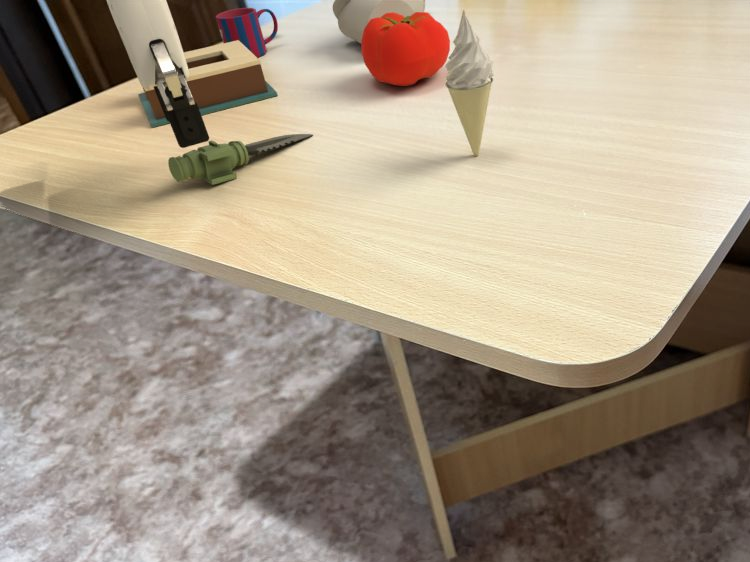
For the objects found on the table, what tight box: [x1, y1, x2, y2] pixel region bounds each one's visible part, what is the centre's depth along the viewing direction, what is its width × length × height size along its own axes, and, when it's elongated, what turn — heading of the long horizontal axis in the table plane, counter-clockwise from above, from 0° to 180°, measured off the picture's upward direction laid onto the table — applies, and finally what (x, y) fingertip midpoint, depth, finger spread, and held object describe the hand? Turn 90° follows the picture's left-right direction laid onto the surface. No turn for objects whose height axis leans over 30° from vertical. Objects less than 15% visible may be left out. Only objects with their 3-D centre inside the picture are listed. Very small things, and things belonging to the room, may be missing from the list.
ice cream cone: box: [444, 9, 495, 157], centre depth 72 cm, size 5×5×15 cm
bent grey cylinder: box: [332, 0, 426, 44], centre depth 115 cm, size 18×11×20 cm
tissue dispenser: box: [137, 40, 278, 128], centre depth 102 cm, size 18×16×5 cm
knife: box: [167, 133, 314, 186], centre depth 81 cm, size 4×18×5 cm
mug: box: [215, 7, 279, 59], centre depth 118 cm, size 7×10×7 cm
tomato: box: [360, 11, 451, 87], centre depth 97 cm, size 14×13×9 cm
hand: (187, 130), depth 77 cm, fingers open, 9 cm apart
